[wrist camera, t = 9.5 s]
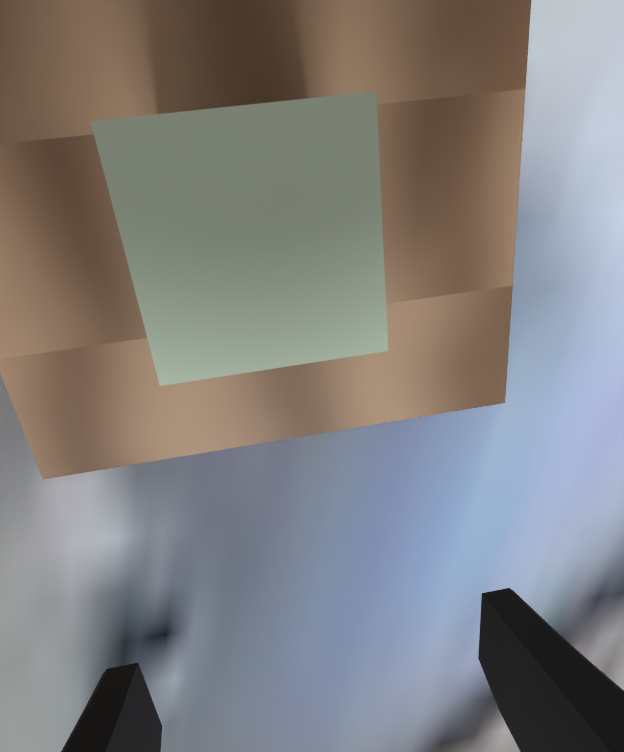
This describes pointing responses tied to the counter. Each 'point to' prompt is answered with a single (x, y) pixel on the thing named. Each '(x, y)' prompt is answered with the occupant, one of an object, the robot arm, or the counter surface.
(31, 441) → the socket block
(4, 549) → the counter surface
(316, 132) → the peg
